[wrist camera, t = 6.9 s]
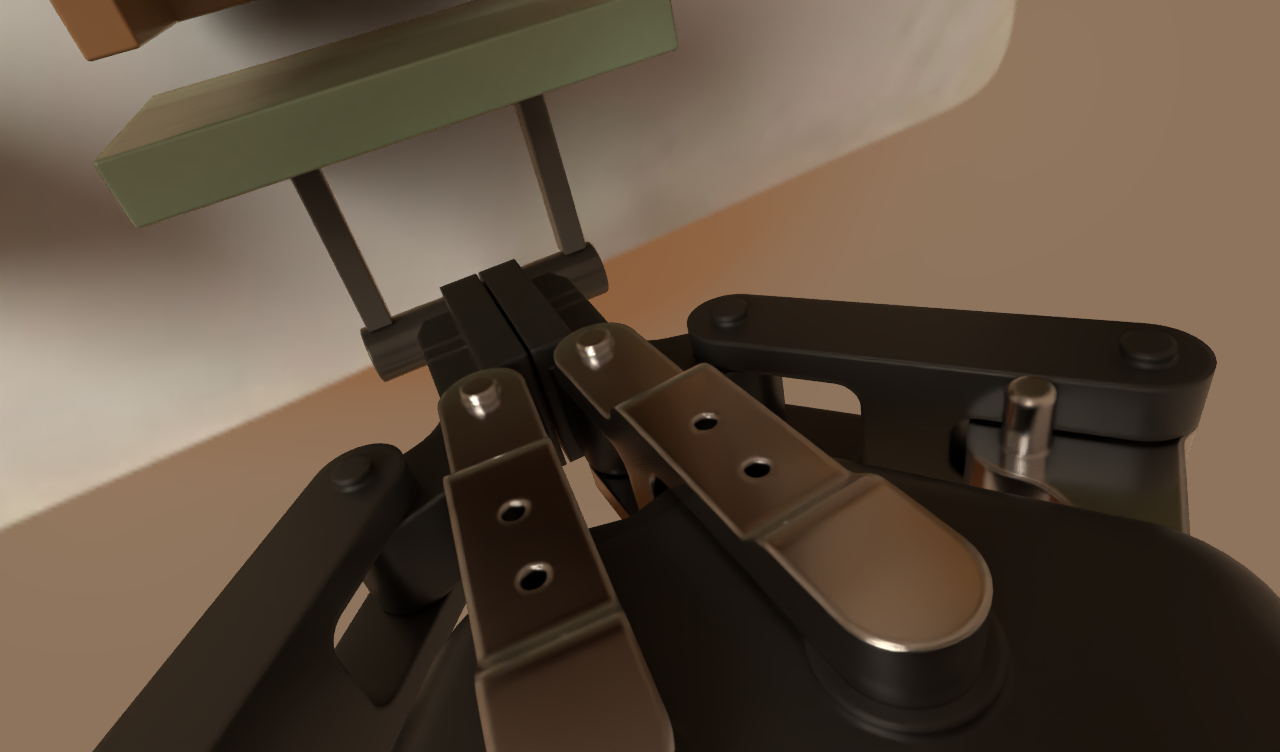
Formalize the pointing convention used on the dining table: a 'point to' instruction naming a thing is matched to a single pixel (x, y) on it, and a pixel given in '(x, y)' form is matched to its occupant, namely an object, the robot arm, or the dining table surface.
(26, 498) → the dining table surface
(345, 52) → the drawer
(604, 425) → the robot arm
